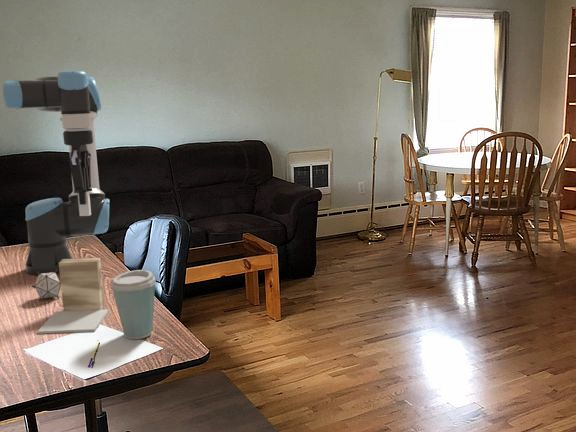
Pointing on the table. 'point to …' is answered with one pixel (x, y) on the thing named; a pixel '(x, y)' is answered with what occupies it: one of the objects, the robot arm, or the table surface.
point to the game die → (47, 285)
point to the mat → (73, 321)
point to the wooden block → (81, 284)
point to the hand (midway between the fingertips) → (85, 215)
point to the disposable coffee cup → (135, 302)
